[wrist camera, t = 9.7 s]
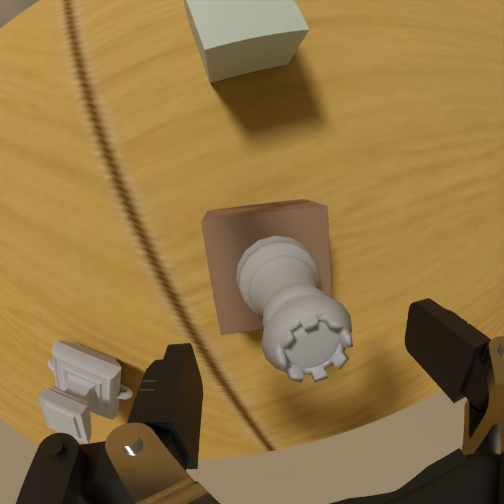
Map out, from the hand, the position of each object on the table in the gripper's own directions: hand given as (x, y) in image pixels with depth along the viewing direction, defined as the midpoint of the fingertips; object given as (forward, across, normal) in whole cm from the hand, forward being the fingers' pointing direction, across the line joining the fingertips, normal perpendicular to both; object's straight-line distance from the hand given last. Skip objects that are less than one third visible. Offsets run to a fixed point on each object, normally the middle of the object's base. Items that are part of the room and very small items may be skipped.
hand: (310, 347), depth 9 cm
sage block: (+12, 0, -17) cm, 21 cm away
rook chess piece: (+7, 0, 0) cm, 7 cm away
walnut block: (+12, 0, 0) cm, 12 cm away
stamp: (+12, +17, +9) cm, 23 cm away
